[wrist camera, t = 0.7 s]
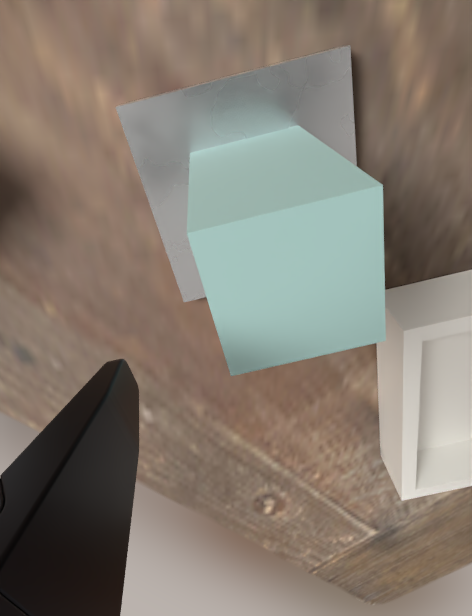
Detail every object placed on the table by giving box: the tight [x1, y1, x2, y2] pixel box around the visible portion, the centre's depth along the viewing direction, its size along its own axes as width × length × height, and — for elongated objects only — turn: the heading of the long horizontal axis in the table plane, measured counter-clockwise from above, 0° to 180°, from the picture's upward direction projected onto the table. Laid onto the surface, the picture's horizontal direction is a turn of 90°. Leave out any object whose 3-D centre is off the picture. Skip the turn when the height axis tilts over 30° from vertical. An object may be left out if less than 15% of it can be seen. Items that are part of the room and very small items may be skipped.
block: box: [187, 125, 386, 376], centre depth 15 cm, size 5×5×10 cm
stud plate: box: [116, 45, 357, 302], centre depth 19 cm, size 10×10×4 cm
